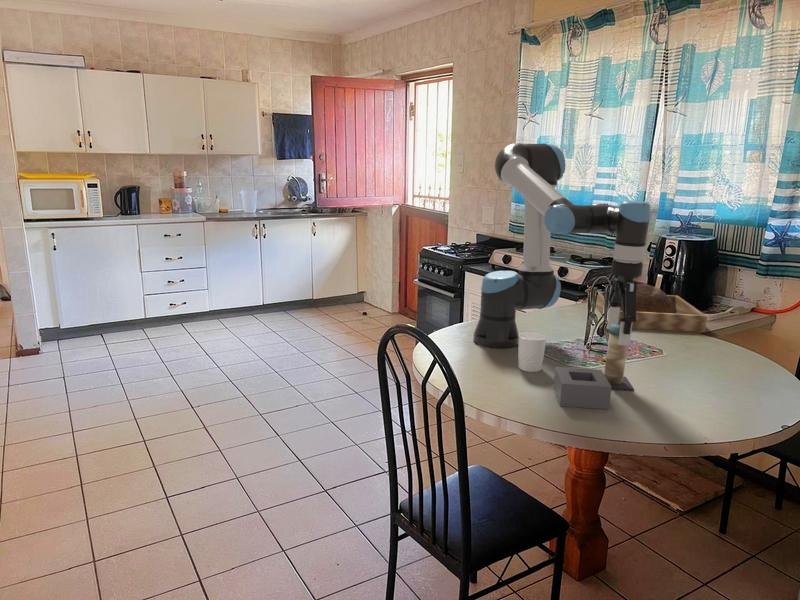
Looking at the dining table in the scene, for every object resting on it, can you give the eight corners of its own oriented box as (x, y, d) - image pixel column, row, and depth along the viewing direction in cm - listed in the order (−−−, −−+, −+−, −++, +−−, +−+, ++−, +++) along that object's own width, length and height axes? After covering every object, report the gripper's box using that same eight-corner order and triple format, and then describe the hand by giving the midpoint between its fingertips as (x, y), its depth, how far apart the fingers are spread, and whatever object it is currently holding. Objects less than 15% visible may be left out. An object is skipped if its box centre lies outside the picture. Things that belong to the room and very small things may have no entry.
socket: (559, 405, 148) (561, 383, 147) (553, 387, 160) (555, 366, 158) (608, 409, 147) (611, 386, 146) (598, 390, 159) (601, 369, 157)
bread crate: (611, 326, 218) (613, 311, 217) (594, 305, 249) (595, 291, 248) (704, 332, 215) (707, 316, 213) (675, 309, 246) (677, 295, 244)
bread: (599, 320, 227) (603, 287, 224) (609, 305, 250) (612, 275, 247) (673, 330, 216) (678, 296, 213) (676, 314, 239) (680, 282, 236)
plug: (605, 384, 162) (612, 328, 158) (601, 377, 167) (608, 323, 163) (625, 385, 161) (632, 329, 157) (620, 378, 166) (627, 324, 162)
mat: (599, 388, 160) (599, 386, 160) (593, 376, 169) (593, 374, 169) (633, 390, 159) (634, 388, 159) (625, 378, 168) (625, 376, 168)
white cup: (544, 365, 176) (547, 333, 174) (542, 374, 169) (545, 341, 167) (518, 362, 179) (520, 330, 176) (514, 370, 172) (517, 338, 169)
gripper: (656, 271, 143) (644, 353, 149) (630, 252, 167) (620, 324, 172) (624, 269, 144) (614, 351, 149) (603, 251, 168) (594, 322, 173)
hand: (617, 336), depth 161 cm, fingers open, 13 cm apart
